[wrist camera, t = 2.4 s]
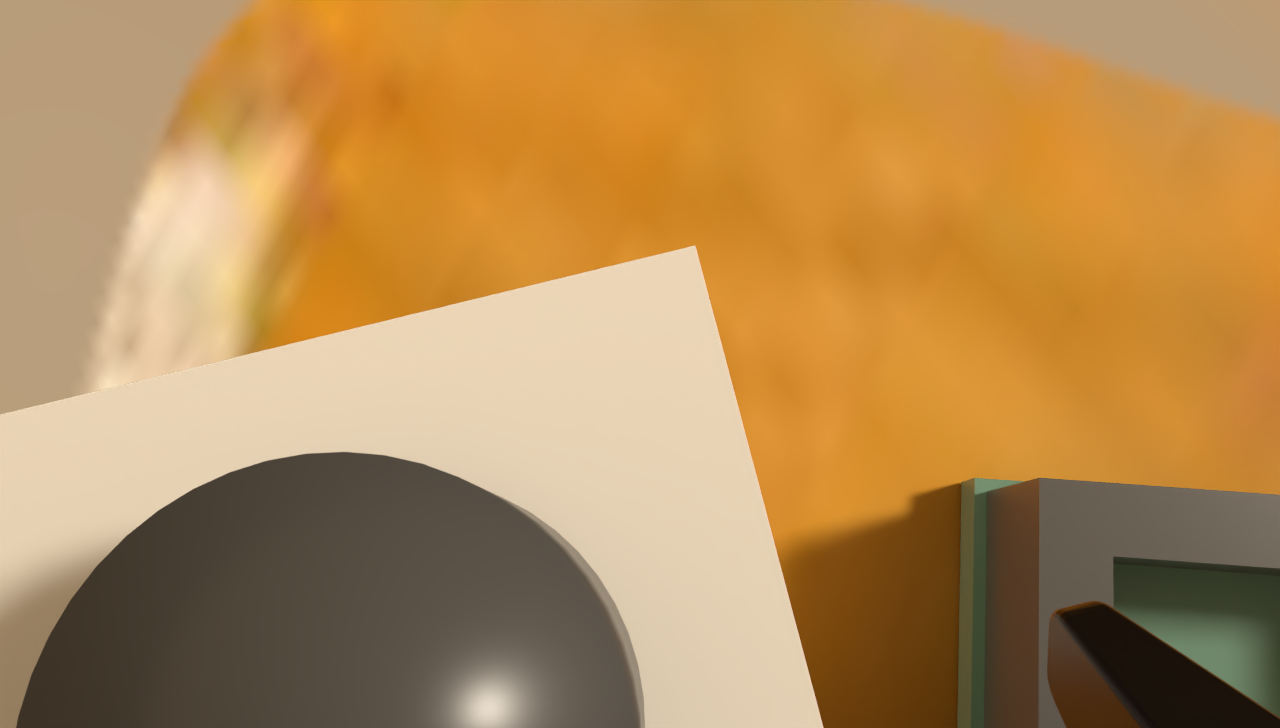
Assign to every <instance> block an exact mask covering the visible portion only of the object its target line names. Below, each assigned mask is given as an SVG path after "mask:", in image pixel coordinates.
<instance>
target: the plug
mask: <svg viewBox="0 0 1280 728" xmlns="http://www.w3.org/2000/svg"><path fill="white" fill-rule="evenodd" d="M0 728H823V724H822V720H821V716H820V713H819V709H818V705H817V701H816V698H815V694H814V690H813V686H812V682H811V679H810V675H809V671H808V667H807V664H806V660H805V656H804V652H803V649H802V645H801V641H800V637H799V634H798V630H797V626H796V622H795V619H794V615H793V611H792V607H791V604H790V600H789V596H788V592H787V589H786V585H785V581H784V577H783V574H782V570H781V566H780V562H779V558H778V555H777V551H776V547H775V543H774V540H773V536H772V532H771V528H770V525H769V521H768V517H767V513H766V510H765V506H764V502H763V498H762V495H761V491H760V487H759V483H758V480H757V476H756V472H755V468H754V465H753V461H752V457H751V453H750V449H749V446H748V442H747V438H746V434H745V431H744V427H743V423H742V419H741V416H740V412H739V408H738V404H737V401H736V397H735V393H734V389H733V386H732V382H731V378H730V374H729V371H728V367H727V363H726V359H725V356H724V352H723V348H722V344H721V341H720V337H719V333H718V329H717V325H716V322H715V318H714V314H713V310H712V307H711V303H710V299H709V295H708V292H707V288H706V284H705V280H704V277H703V273H702V269H701V265H700V262H699V258H698V254H697V250H696V247H695V246H691V247H687V248H683V249H679V250H675V251H671V252H667V253H663V254H659V255H654V256H650V257H646V258H642V259H638V260H634V261H630V262H626V263H622V264H617V265H613V266H609V267H605V268H601V269H597V270H593V271H589V272H585V273H580V274H576V275H572V276H568V277H564V278H560V279H556V280H552V281H548V282H543V283H539V284H535V285H531V286H527V287H523V288H519V289H515V290H511V291H506V292H502V293H498V294H494V295H490V296H486V297H482V298H478V299H474V300H469V301H465V302H461V303H457V304H453V305H449V306H445V307H441V308H436V309H432V310H428V311H424V312H420V313H416V314H412V315H408V316H404V317H399V318H395V319H391V320H387V321H383V322H379V323H375V324H371V325H367V326H362V327H358V328H354V329H350V330H346V331H342V332H338V333H334V334H330V335H325V336H321V337H317V338H313V339H309V340H305V341H301V342H297V343H293V344H288V345H284V346H280V347H276V348H272V349H268V350H264V351H260V352H256V353H251V354H247V355H243V356H239V357H235V358H231V359H227V360H223V361H219V362H214V363H210V364H206V365H202V366H198V367H194V368H190V369H186V370H182V371H177V372H173V373H169V374H165V375H161V376H157V377H153V378H149V379H145V380H140V381H136V382H132V383H128V384H124V385H120V386H116V387H112V388H108V389H103V390H99V391H95V392H91V393H87V394H83V395H79V396H75V397H71V398H66V399H62V400H59V401H54V402H50V403H46V404H42V405H38V406H34V407H29V408H25V409H21V410H17V411H13V412H9V413H5V414H1V415H0Z"/></svg>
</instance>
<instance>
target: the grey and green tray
mask: <svg viewBox="0 0 1280 728" xmlns="http://www.w3.org/2000/svg"><path fill="white" fill-rule="evenodd" d="M1088 601H1099V602H1103V603H1106V604H1108V605H1109V606H1111V607H1113V608H1114V609H1116V610H1117V611H1119V612H1120V613H1122V614H1123V615H1125V616H1126V617H1128V618H1129V619H1131V620H1132V621H1134V622H1135V623H1137V624H1138V625H1140V626H1141V627H1143V628H1144V629H1146V630H1148V631H1149V632H1151V633H1152V634H1154V635H1155V636H1157V637H1158V638H1160V639H1161V640H1163V641H1164V642H1166V643H1167V644H1169V645H1170V646H1172V647H1173V648H1175V649H1176V650H1178V651H1179V652H1181V653H1182V654H1184V655H1185V656H1187V657H1188V658H1190V659H1192V660H1193V661H1195V662H1196V663H1198V664H1199V665H1201V666H1202V667H1204V668H1205V669H1207V670H1208V671H1210V672H1211V673H1213V674H1214V675H1216V676H1217V677H1219V678H1220V679H1222V680H1223V681H1225V682H1226V683H1228V684H1229V685H1231V686H1232V687H1234V688H1236V689H1237V690H1239V691H1240V692H1242V693H1243V694H1245V695H1246V696H1248V697H1249V698H1251V699H1252V700H1254V701H1255V702H1257V703H1258V704H1260V705H1261V706H1263V707H1264V708H1266V709H1267V710H1269V711H1270V712H1272V713H1273V714H1275V715H1276V716H1278V717H1280V495H1274V494H1260V493H1246V492H1232V491H1218V490H1204V489H1190V488H1175V487H1161V486H1147V485H1133V484H1119V483H1105V482H1091V481H1077V480H1063V479H1048V478H1037V479H1033V480H1029V481H1025V482H1023V481H1009V480H995V479H981V478H973V479H970V480H967V481H964V482H962V483H961V540H960V597H959V653H958V710H957V728H1066V726H1065V724H1064V722H1063V720H1062V717H1061V715H1060V713H1059V711H1058V708H1057V706H1056V704H1055V702H1054V699H1053V696H1052V693H1051V690H1050V687H1049V683H1048V677H1047V661H1048V638H1049V622H1050V617H1051V615H1052V614H1053V612H1054V611H1056V610H1058V609H1061V608H1065V607H1069V606H1073V605H1077V604H1081V603H1084V602H1088Z"/></svg>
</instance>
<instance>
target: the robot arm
mask: <svg viewBox="0 0 1280 728" xmlns="http://www.w3.org/2000/svg"><path fill="white" fill-rule="evenodd" d="M1047 677H1048V683H1049V687H1050V690H1051V693H1052V696H1053V699H1054V702H1055V704H1056V706H1057V708H1058V711H1059V713H1060V715H1061V717H1062V720H1063V722H1064V724H1065V726H1066V728H1280V717H1278V716H1276V715H1275V714H1273V713H1272V712H1270V711H1269V710H1267V709H1266V708H1264V707H1263V706H1261V705H1260V704H1258V703H1257V702H1255V701H1254V700H1252V699H1251V698H1249V697H1248V696H1246V695H1245V694H1243V693H1242V692H1240V691H1239V690H1237V689H1236V688H1234V687H1232V686H1231V685H1229V684H1228V683H1226V682H1225V681H1223V680H1222V679H1220V678H1219V677H1217V676H1216V675H1214V674H1213V673H1211V672H1210V671H1208V670H1207V669H1205V668H1204V667H1202V666H1201V665H1199V664H1198V663H1196V662H1195V661H1193V660H1192V659H1190V658H1188V657H1187V656H1185V655H1184V654H1182V653H1181V652H1179V651H1178V650H1176V649H1175V648H1173V647H1172V646H1170V645H1169V644H1167V643H1166V642H1164V641H1163V640H1161V639H1160V638H1158V637H1157V636H1155V635H1154V634H1152V633H1151V632H1149V631H1148V630H1146V629H1144V628H1143V627H1141V626H1140V625H1138V624H1137V623H1135V622H1134V621H1132V620H1131V619H1129V618H1128V617H1126V616H1125V615H1123V614H1122V613H1120V612H1119V611H1117V610H1116V609H1114V608H1113V607H1111V606H1109V605H1108V604H1106V603H1103V602H1099V601H1088V602H1084V603H1081V604H1077V605H1073V606H1069V607H1065V608H1061V609H1058V610H1056V611H1054V612H1053V614H1052V615H1051V617H1050V622H1049V638H1048V661H1047Z"/></svg>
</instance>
